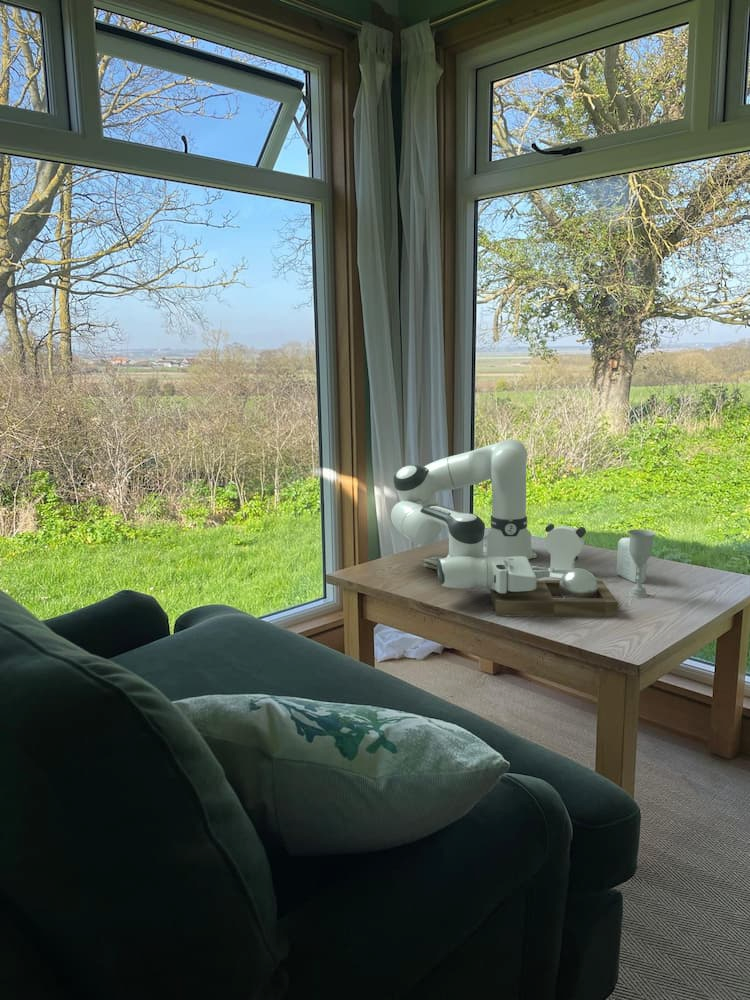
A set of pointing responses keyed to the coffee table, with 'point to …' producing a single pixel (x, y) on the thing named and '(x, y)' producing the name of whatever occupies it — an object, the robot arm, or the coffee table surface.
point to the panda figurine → (563, 548)
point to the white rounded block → (628, 562)
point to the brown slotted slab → (554, 602)
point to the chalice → (640, 556)
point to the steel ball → (578, 584)
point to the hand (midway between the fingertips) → (549, 572)
